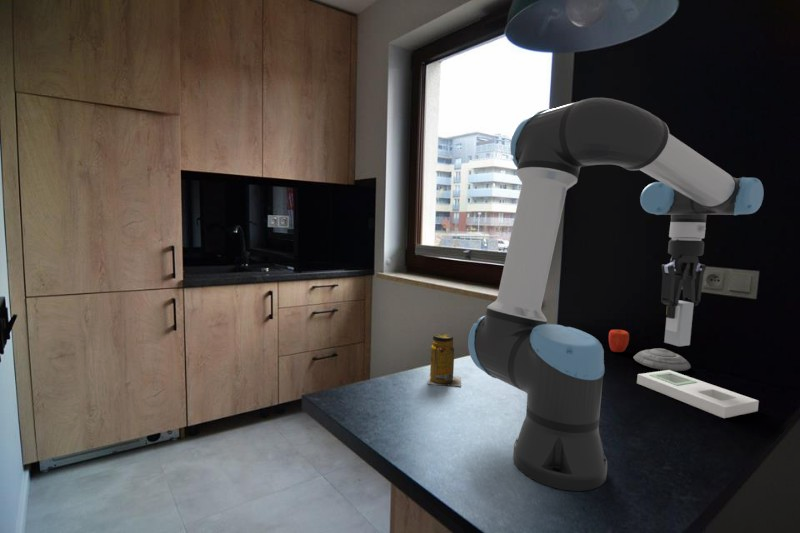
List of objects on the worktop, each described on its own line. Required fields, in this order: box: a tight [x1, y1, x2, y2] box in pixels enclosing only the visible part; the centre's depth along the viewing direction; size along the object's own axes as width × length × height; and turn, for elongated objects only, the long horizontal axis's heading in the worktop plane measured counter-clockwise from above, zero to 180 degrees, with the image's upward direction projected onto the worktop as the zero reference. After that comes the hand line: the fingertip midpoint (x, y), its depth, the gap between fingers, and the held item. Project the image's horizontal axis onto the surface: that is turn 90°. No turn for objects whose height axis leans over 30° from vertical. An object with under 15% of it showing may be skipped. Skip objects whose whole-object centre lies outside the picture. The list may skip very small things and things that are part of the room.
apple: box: [608, 329, 630, 353], centre depth 146 cm, size 6×6×8 cm
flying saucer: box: [633, 347, 692, 372], centre depth 132 cm, size 15×15×6 cm
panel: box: [636, 370, 760, 419], centre depth 108 cm, size 12×22×3 cm, turn 22°
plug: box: [663, 299, 695, 347], centre depth 112 cm, size 4×5×11 cm
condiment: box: [427, 333, 462, 387], centre depth 113 cm, size 7×8×12 cm
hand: (678, 329), depth 112 cm, fingers closed on plug, 4 cm apart
